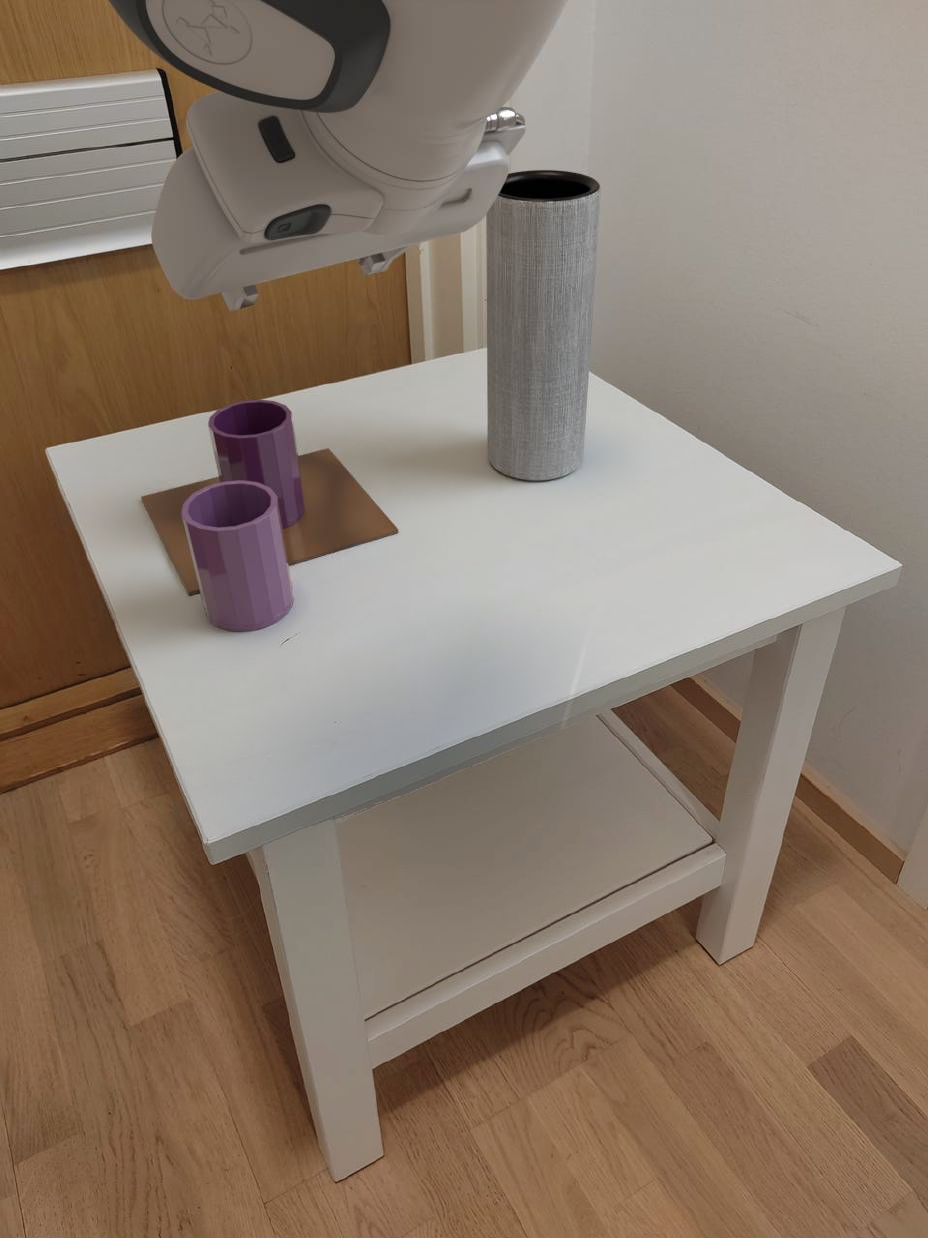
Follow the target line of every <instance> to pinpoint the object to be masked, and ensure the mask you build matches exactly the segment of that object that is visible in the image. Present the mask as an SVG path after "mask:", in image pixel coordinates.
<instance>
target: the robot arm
mask: <svg viewBox="0 0 928 1238" xmlns="http://www.w3.org/2000/svg"><path fill="white" fill-rule="evenodd" d="M568 1H569V0H108V2H109V4H110V5H111V7H112V8H113V10H114V11H115V12H116V14H117V15H118V16H119V18H120V19H121V20H122V22H123V23H124V24H125V25H126V26H127V27H128V29H129V30H130V31H131V32H132V33H133V34H134V35H135V36H136V37H137V38H138V40H139V41H140V42H141V43H142V44H143V45H145V46H146V47H147V48H148V49H149V50H150V51H151V52H152V53H154V54H155V55H156V56H158V57H159V58H160V59H162V60H163V61H165V62H166V63H167V64H169V65H170V66H171V67H173V68H174V69H176V70H178V71H179V72H181V73H182V74H184V75H186V76H187V77H190V78H191V79H193V80H195V81H197V82H199V83H201V84H202V85H205V86H208V87H209V88H212V89H214V90H217V91H213V92H211V93H208V94H205V95H204V96H202V97H199V98H197V100H195V101H194V102H193V103H192V104H191V105H190V107H189V108H188V110H187V113H186V118H185V125H186V126H185V127H186V129H187V132H188V135H189V138H190V141H191V144H192V145H191V146H190V147H188V148H187V149H186V150H184V152H182V153H181V154H180V155H179V156H178V157H177V158H176V160H175V161H174V162H173V164H172V165H171V167H170V169H169V171H168V173H167V175H166V177H165V180H164V182H163V185H162V188H161V191H160V194H159V196H158V197H159V198H158V201H157V203H156V204H157V205H156V208H155V212H154V217H153V220H152V226H151V235H150V238H151V245H152V248H153V251H154V253H155V256H156V258H157V260H158V262H159V265H160V267H161V270H162V271H163V273H164V275H165V277H166V280H167V281H168V283H169V284H170V286H171V288H172V289H173V291H174V292H175V293H176V294H177V295H178V296H181V297H182V298H184V299H186V300H190V301H194V300H199V299H203V298H206V297H209V296H214V295H218V294H221V296H222V298H223V300H224V303H225V305H226V306H227V308H228V310H229V311H230V312H233V311H238V310H241V309H245V308H249V307H253V306H254V305H255V303H256V302H255V301H256V300H257V299H258V297H259V294H260V293H259V290H258V288H257V287H256V285H258V284H263V283H266V282H270V281H274V280H279V279H283V278H285V277H290V276H294V275H297V274H302V273H306V272H310V271H314V270H317V269H322V268H326V267H331V266H334V265H337V264H338V265H339V264H341V263H346V262H349V261H353V260H354V261H355V260H356V262H357V264H358V265H360V266H361V267H360V270H361V272H362V274H363V275H364V276H369V275H375V274H379V273H382V272H386V271H387V270H388V269H389V267H390V265H391V264H392V262H393V261H394V260H396V259H397V258H399V257H400V256H402V255H403V254H405V253H406V252H407V251H408V250H410V249H412V248H413V247H415V246H416V245H418V244H421V243H425V242H426V243H427V242H429V241H434V240H438V239H442V238H446V237H450V236H453V235H457V234H461V233H464V232H466V231H469V230H470V229H471V228H473V227H475V226H476V225H477V224H479V223H480V222H481V221H483V219H484V218H486V214H487V212H488V211H489V209H490V208H491V206H492V204H493V203H494V201H495V199H496V197H497V196H498V194H499V192H500V190H501V188H502V187H503V185H504V183H505V181H506V178H507V176H508V174H509V173H510V169H511V161H510V159H509V157H508V156H510V154H511V153H512V152H513V151H514V149H515V148H516V147H517V145H518V144H519V142H520V141H521V139H522V138H524V135H525V133H526V130H527V127H526V119H525V117H524V116H523V115H522V114H521V113H518V112H516V110H515V109H514V108H513V107H509V106H504V105H505V104H506V103H508V101H509V100H510V99H511V98H512V97H513V96H514V94H515V93H516V91H517V90H518V88H519V87H520V86H521V84H522V82H523V80H524V79H525V78H526V77H527V74H528V73H529V71H530V69H531V68H532V66H533V64H534V63H535V61H536V59H537V58H538V57H539V55H540V53H541V51H542V49H543V48H544V46H545V44H546V43H547V41H548V39H549V37H550V36H551V33H552V32H553V30H554V28H555V27H556V25H557V23H558V20H559V19H560V16H561V15H562V13H563V11H564V9H565V7H566V5H567V3H568Z"/></svg>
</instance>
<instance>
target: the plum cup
mask: <svg viewBox="0 0 928 1238" xmlns="http://www.w3.org/2000/svg"><path fill="white" fill-rule="evenodd" d="M207 426H208V431H209V437H210V441H211V447H212V451H213V455H214V460H215V465H216V470H217V474H218V477H219V480H220V483H221V482H226V481H238V480H241V481H242V480H244V481H251V482H258V483H261V484H263V485H265V486H267V487H270V488H271V489H272V491H273V492H274V493H275V494H276V495H277V499H278V505H279V511H280V517H281V523H282V529H285V528H287V527H290V526H291V525H293V524H295V523H296V522H297V521H299V520H300V519H301V518H302V516H303V515H304V512H305V503H304V500H305V499H304V493H303V486H302V479H301V472H300V465H299V458H298V456H299V453H298V445H297V438H296V431H295V425H294V418H293V413H292V410H291V409H290V408H289V406H287V405H286V404H283V403H281V402H278V401H276V400H267V399H249V400H242V401H237V402H234V403H230V404H227V405H225V406H223V407H221V408H219V409H217V410H216V411H214V413H213V414H211V416H209V418H208V424H207Z"/></svg>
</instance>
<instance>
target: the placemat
mask: <svg viewBox="0 0 928 1238" xmlns="http://www.w3.org/2000/svg"><path fill="white" fill-rule="evenodd" d="M298 458H299V465H300V472H301V479H302V486H303V493H304V499H305V500H304V503H305V512H304V515H303V516H302V518H301V519H300V520H299V521H297V522H296V523H295V524H293V525H291V526H290V527H287V528H285V529H283V535H284V541H285V547H286V553H287V559H288V565H289V566H292V565H296V564H299V563H303V562H305V561H308V560H312V559H316V558H319V557H322V556H326V555H329V554H332V553H335V552H339V551H342V550H344V549H348V548H351V547H355V546H358V545H362V544H365V543H369V542H373V541H375V540H379V539H382V538H386V537H388V536H392V535H395V534H399V528H398V527H397V526H396V524H394V523H393V521H392V520H391V519H390V518H389V517H388V516H387V514H386V513H385V512H384V511H383V510H382V508H381V507H380V506H379V505H378V504H377V503H376V502H375V500H373V498H372V497H371V496H370V494H369V493H368V492H367V491H366V490H365V489H364V488H363V486H362V485H361V484H360V483H359V482H358V481H357V479H356V478H355V477H354V476H353V475H352V474H351V473H350V472H349V470H348V469H347V468H346V466H345V465H344V464H343V463H342V462H341V461H340V459H338V457H337V456H336V455H335V454H334V453H333V451H332V450H331V449H330V448H329V447H326V448H323V449H319V450H315V451H311V452H309V453H303V454H299V455H298ZM217 483H220V480H219V476H216V477H215V476H214V477H212V478H207V479H204V480H203V479H202V480H199V481H196V482H192V483H188V484H185V485H180V486H177V487H172V488H168V489H165V490H162V491H157V492H153V493H150V494H146V495H142V496H140V499H141V501H142V504H143V505H144V507H145V510H146V511H147V514H148V516H149V518H150V520H151V522H152V523H153V526H154V528H155V530H156V532H157V534H158V535H159V538H160V540H161V542H162V544H163V546H164V548H165V550H166V552H167V555H169V559H170V560H171V563H172V564H173V566H174V569H175V570H176V572H177V574H178V576H179V579H180V580H181V583H182V584H183V586H184V589H185V590H186V593H187V595H188V596H193V595H196V594H199V593H200V589H199V585H198V580H197V576H196V572H195V568H194V564H193V560H192V556H191V552H190V548H189V543H188V539H187V535H186V531H185V527H184V523H183V519H182V515H181V513H182V507H183V504H184V502H185V501H186V500H187V499H188V498H189V497H190V496H191V495H192V494H193V493H195V492H197V491H199V490H201V489H203V488H204V487H207V486H210V485H213V484H217Z"/></svg>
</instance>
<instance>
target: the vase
mask: <svg viewBox="0 0 928 1238" xmlns="http://www.w3.org/2000/svg"><path fill="white" fill-rule="evenodd" d="M601 191H602V188H601V184H600V182H599V181H597V180H596V179H595V178H593V177H591V176H589V175H586V174H584V173H583V174H582V173H579V172H575V171H567V170H557V169H556V170H555V169H534V170H533V169H532V170H522V171H515V172H509V173H508V176H507V178H506V181H505V183H504V185H503V187H502V188H501V190H500V192H499V194H498V196H497V197H496V199H495V201H494V203H493V204H492V206H491V208H490V209H489V211H488V212H487V214H486V215H485V219H486V220H485V221H486V223H485V225H486V226H485V228H486V229H485V231H486V232H485V233H486V235H485V236H486V241H485V242H486V243H485V244H486V245H485V246H486V378H487V379H486V385H487V386H486V388H487V389H486V391H487V392H486V395H487V396H486V398H487V399H486V404H487V406H486V407H487V418H486V419H487V455H488V456H487V457H488V462H489V463H490V465H491V466H492V467H493V468H494V469H495V470H496V471H498V472H499V473H501V474H503V475H505V476H507V477H511V478H512V479H513V478H514V479H518V480H522V481H532V482H535V481H537V482H538V481H539V482H540V481H550V480H556V479H559V478H563V477H565V476H567V475H569V474H571V473H573V472H575V471H576V470H577V469H578V468H579V467H580V466H581V464H582V462H583V458H584V451H585V439H586V424H587V423H586V422H587V408H588V391H589V377H590V376H589V375H590V361H591V345H592V333H593V332H592V330H593V317H594V316H593V315H594V301H595V284H596V269H597V253H598V241H599V240H598V238H599V225H600V223H599V222H600V207H601Z"/></svg>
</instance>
